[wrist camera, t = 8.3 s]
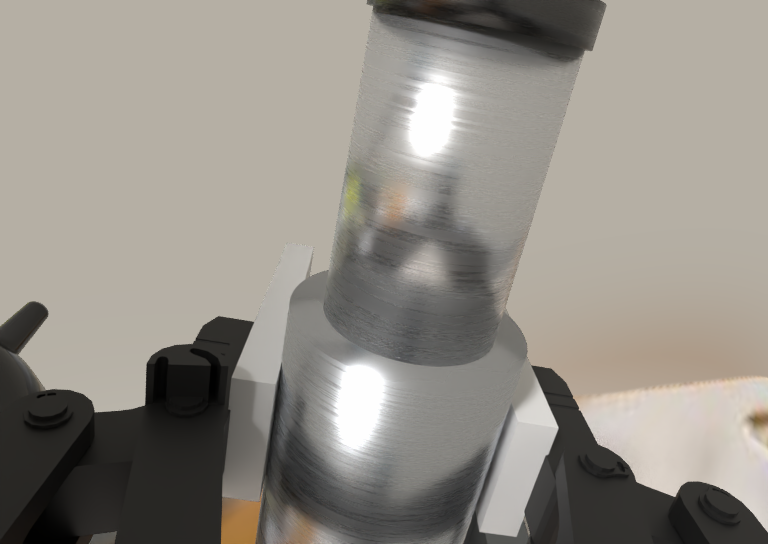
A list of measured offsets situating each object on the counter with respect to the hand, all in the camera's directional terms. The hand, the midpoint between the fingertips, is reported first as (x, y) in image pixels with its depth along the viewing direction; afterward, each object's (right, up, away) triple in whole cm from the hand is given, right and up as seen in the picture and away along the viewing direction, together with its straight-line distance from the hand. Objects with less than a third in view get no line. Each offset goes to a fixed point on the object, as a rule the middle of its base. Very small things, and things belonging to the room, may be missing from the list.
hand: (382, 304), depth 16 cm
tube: (-2, -10, -2) cm, 10 cm away
